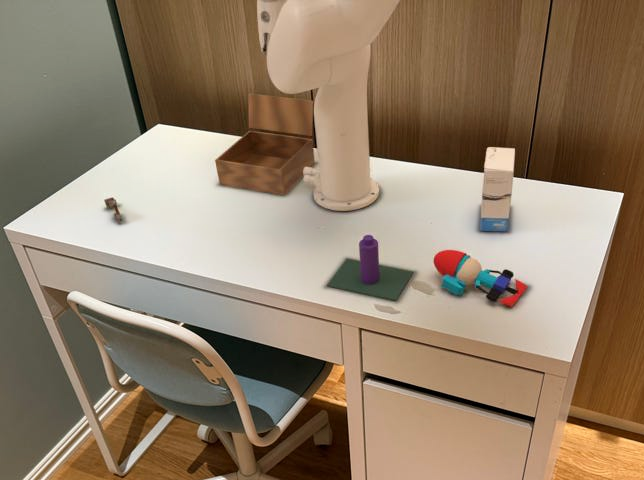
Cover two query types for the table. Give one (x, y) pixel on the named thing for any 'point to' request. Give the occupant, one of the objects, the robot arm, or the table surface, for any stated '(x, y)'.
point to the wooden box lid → (280, 114)
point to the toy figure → (474, 276)
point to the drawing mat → (385, 288)
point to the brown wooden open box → (265, 162)
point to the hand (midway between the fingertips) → (286, 84)
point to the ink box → (497, 189)
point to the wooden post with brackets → (112, 203)
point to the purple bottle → (369, 260)
